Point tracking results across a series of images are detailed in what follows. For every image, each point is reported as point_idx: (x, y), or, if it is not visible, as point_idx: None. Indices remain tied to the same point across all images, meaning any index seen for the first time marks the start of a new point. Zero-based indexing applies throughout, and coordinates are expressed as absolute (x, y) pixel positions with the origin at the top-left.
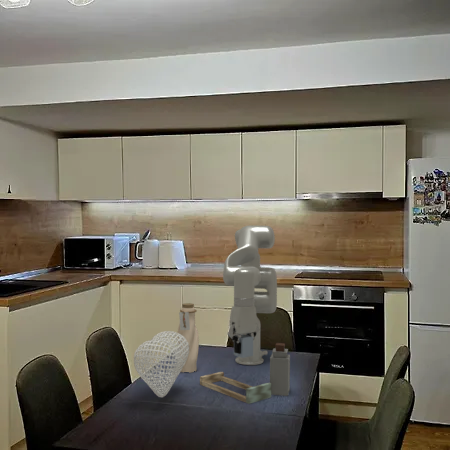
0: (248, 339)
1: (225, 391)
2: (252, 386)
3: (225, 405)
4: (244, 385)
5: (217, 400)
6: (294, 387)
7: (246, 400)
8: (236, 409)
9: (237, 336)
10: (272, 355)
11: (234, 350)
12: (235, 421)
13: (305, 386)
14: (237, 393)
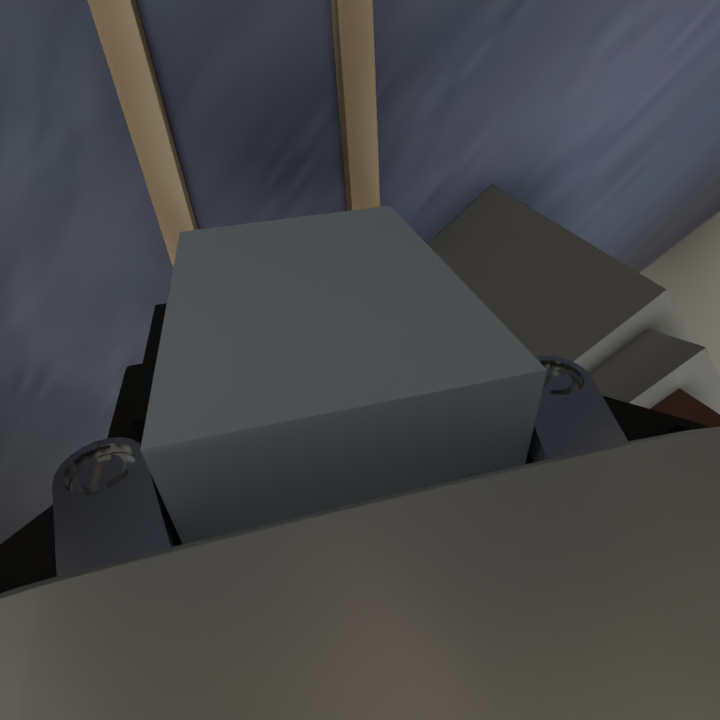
0: None
1: (123, 106)
2: (377, 147)
3: (39, 300)
4: (342, 83)
5: (8, 188)
6: (599, 235)
7: None
8: (87, 377)
9: (222, 503)
10: (602, 349)
11: (155, 322)
12: (17, 491)
13: (648, 251)
14: (186, 225)
